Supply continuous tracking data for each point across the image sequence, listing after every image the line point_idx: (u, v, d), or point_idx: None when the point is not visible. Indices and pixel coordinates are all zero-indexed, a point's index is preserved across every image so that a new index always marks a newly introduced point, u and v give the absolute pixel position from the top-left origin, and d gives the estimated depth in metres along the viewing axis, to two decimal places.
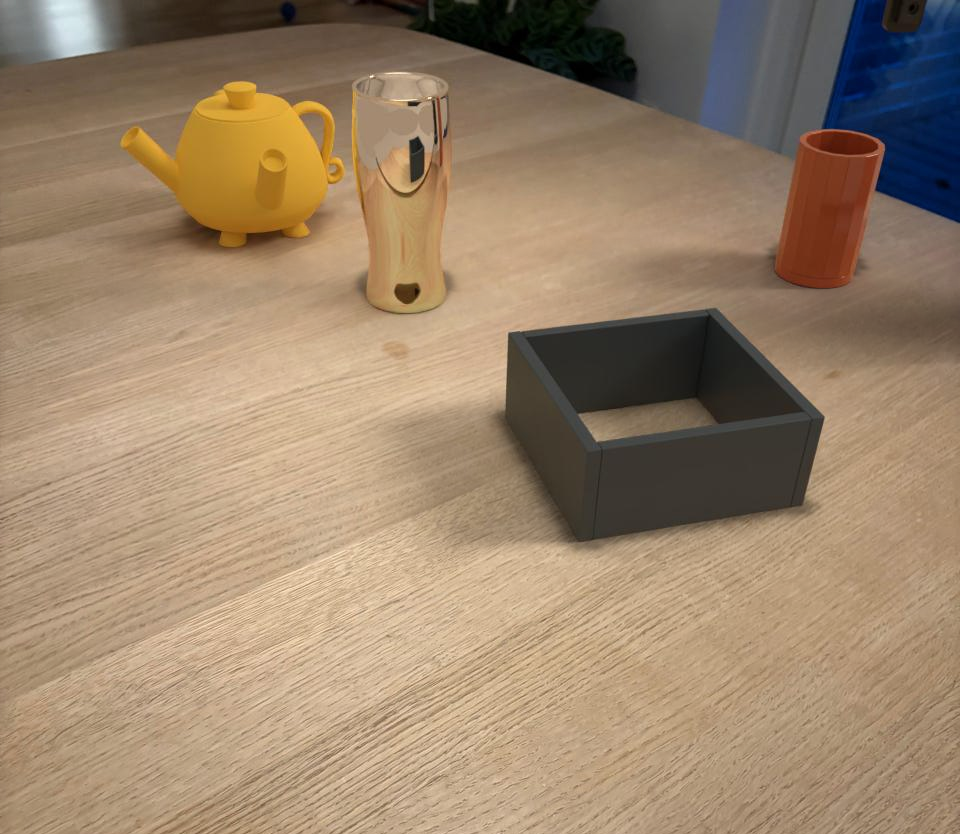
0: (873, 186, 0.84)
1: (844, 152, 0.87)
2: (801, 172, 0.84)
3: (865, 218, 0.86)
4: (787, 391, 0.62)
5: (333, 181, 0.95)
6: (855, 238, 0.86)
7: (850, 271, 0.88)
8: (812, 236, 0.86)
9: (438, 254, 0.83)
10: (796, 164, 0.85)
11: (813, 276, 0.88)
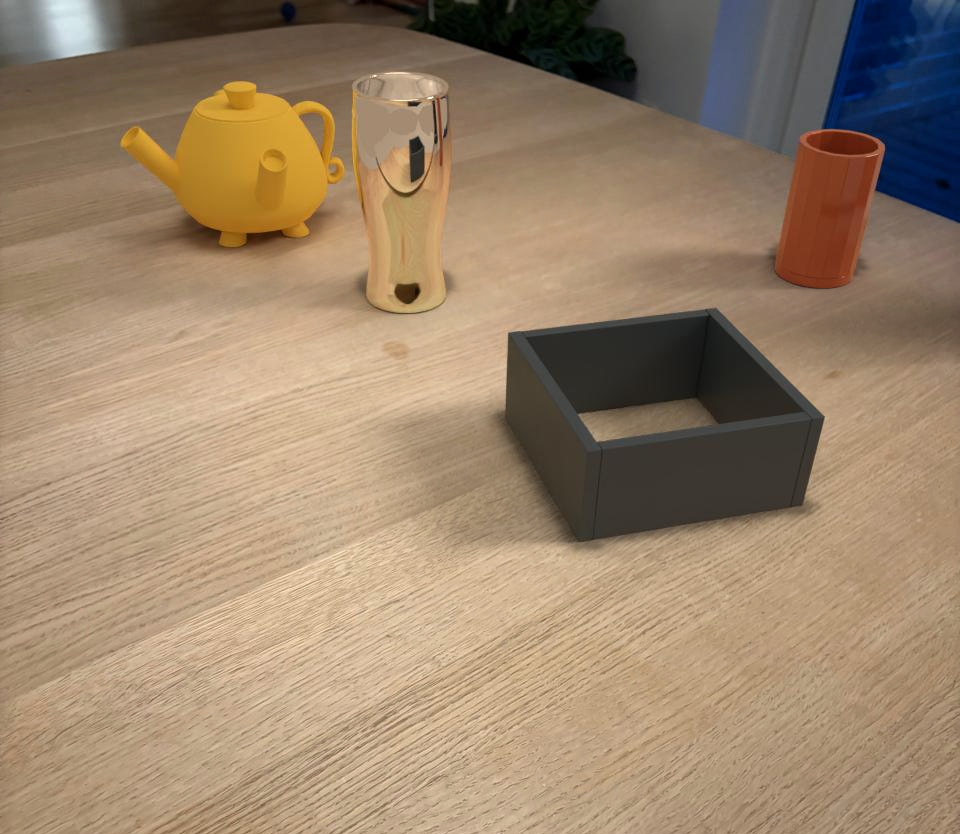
0: (873, 186, 0.84)
1: (844, 152, 0.87)
2: (801, 172, 0.84)
3: (865, 218, 0.86)
4: (787, 391, 0.62)
5: (333, 181, 0.95)
6: (855, 238, 0.86)
7: (850, 271, 0.88)
8: (812, 236, 0.86)
9: (438, 254, 0.83)
10: (796, 164, 0.85)
11: (813, 276, 0.88)
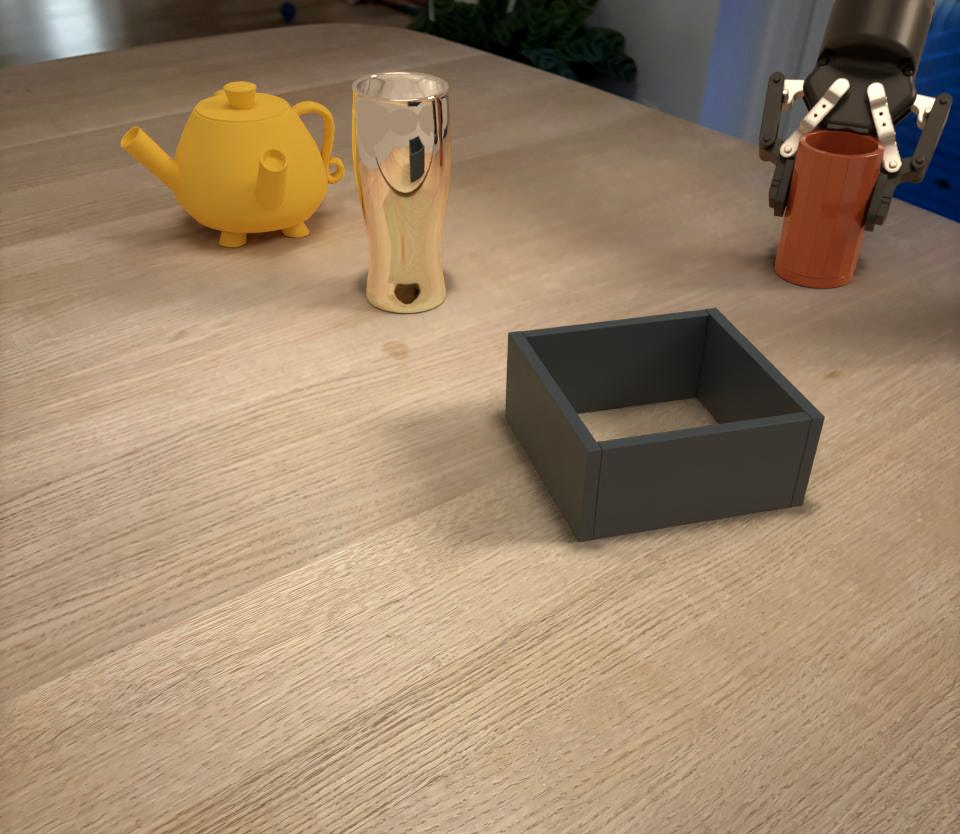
0: (873, 186, 0.84)
1: (844, 152, 0.87)
2: (801, 172, 0.84)
3: (865, 218, 0.86)
4: (787, 391, 0.62)
5: (333, 181, 0.95)
6: (854, 238, 0.86)
7: (850, 271, 0.88)
8: (812, 236, 0.86)
9: (438, 254, 0.83)
10: (796, 164, 0.85)
11: (813, 276, 0.88)
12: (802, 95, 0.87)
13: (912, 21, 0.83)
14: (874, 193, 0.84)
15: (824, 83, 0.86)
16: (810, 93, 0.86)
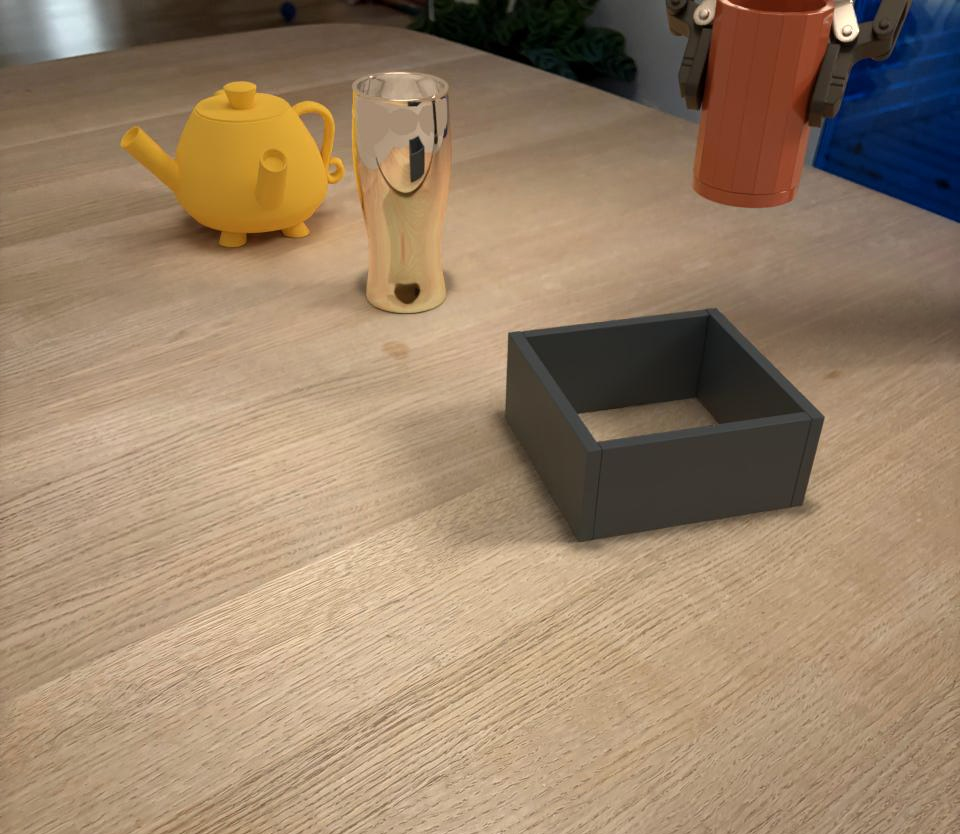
0: (819, 61, 0.60)
1: None
2: (719, 42, 0.61)
3: None
4: (787, 391, 0.62)
5: (333, 181, 0.95)
6: (796, 136, 0.62)
7: (792, 185, 0.65)
8: (736, 133, 0.62)
9: (438, 254, 0.83)
10: (713, 32, 0.61)
11: (740, 191, 0.64)
12: None
13: None
14: (821, 71, 0.61)
15: None
16: None
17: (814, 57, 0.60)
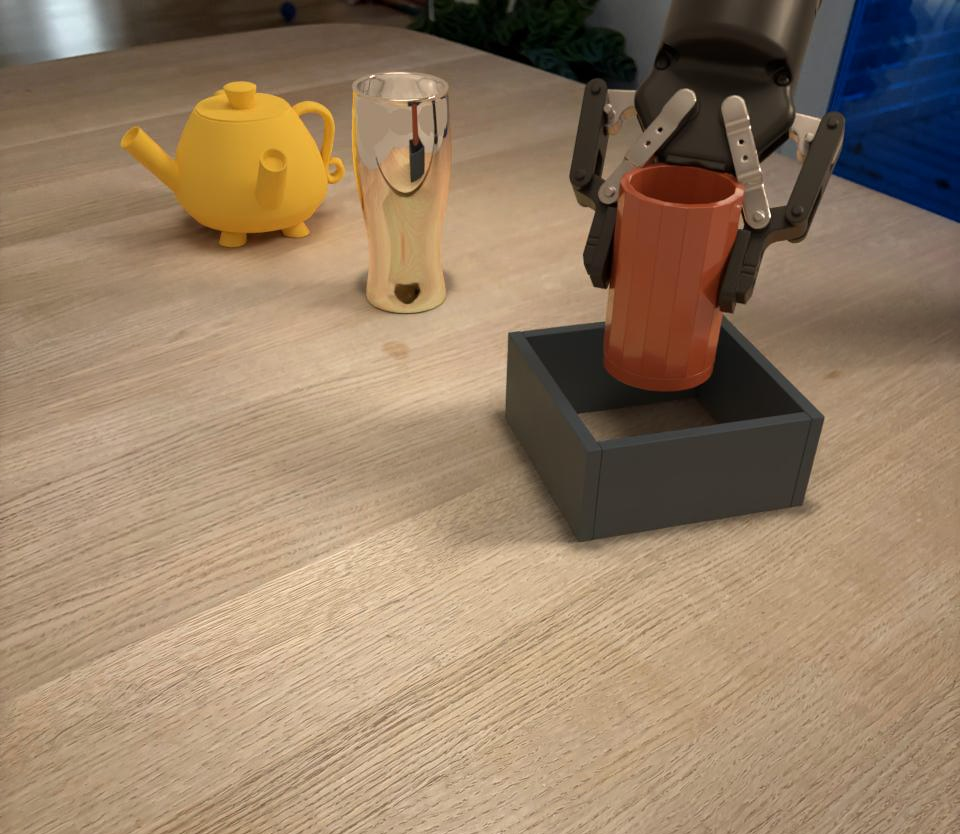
0: (729, 248, 0.57)
1: (693, 196, 0.59)
2: (623, 227, 0.57)
3: None
4: (787, 391, 0.62)
5: (333, 181, 0.95)
6: (707, 322, 0.59)
7: (705, 367, 0.61)
8: (644, 320, 0.59)
9: (438, 254, 0.83)
10: (617, 215, 0.57)
11: (650, 375, 0.60)
12: (635, 112, 0.60)
13: (786, 4, 0.56)
14: (731, 259, 0.57)
15: (663, 95, 0.59)
16: (643, 110, 0.59)
17: (723, 246, 0.56)
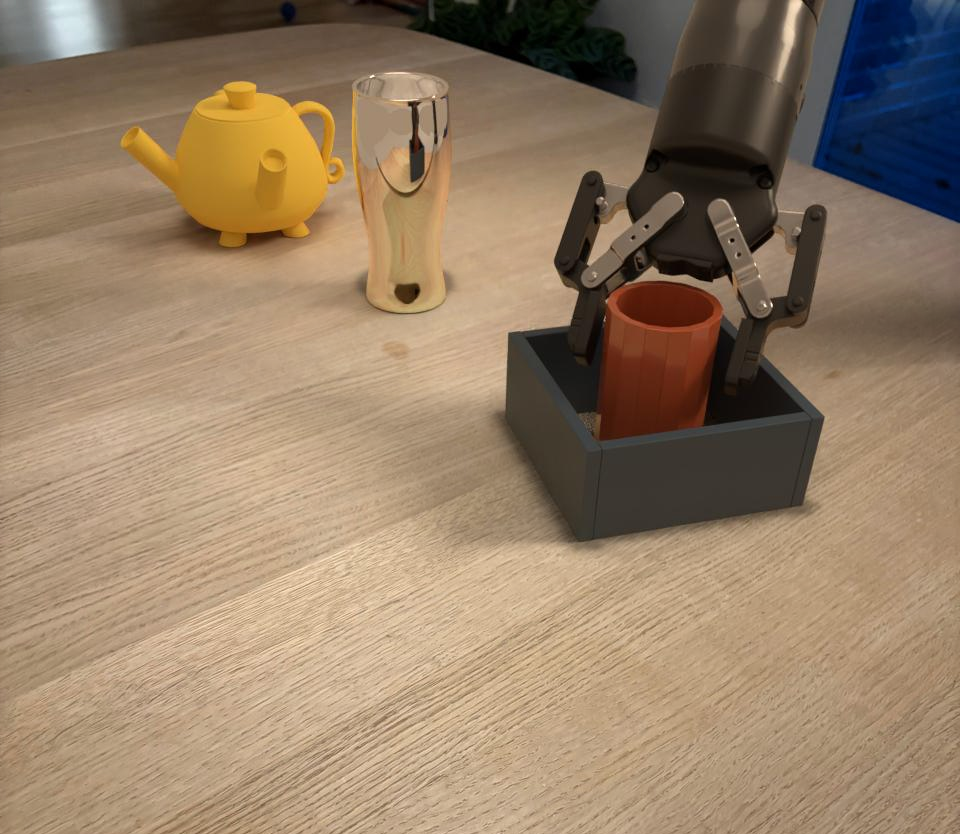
0: (709, 364, 0.61)
1: (676, 311, 0.64)
2: (610, 344, 0.61)
3: (702, 403, 0.63)
4: (787, 391, 0.62)
5: (333, 181, 0.95)
6: None
7: None
8: (630, 427, 0.63)
9: (438, 254, 0.83)
10: (605, 332, 0.62)
11: None
12: None
13: (767, 114, 0.59)
14: (735, 346, 0.60)
15: (652, 198, 0.62)
16: (634, 210, 0.62)
17: (702, 362, 0.61)
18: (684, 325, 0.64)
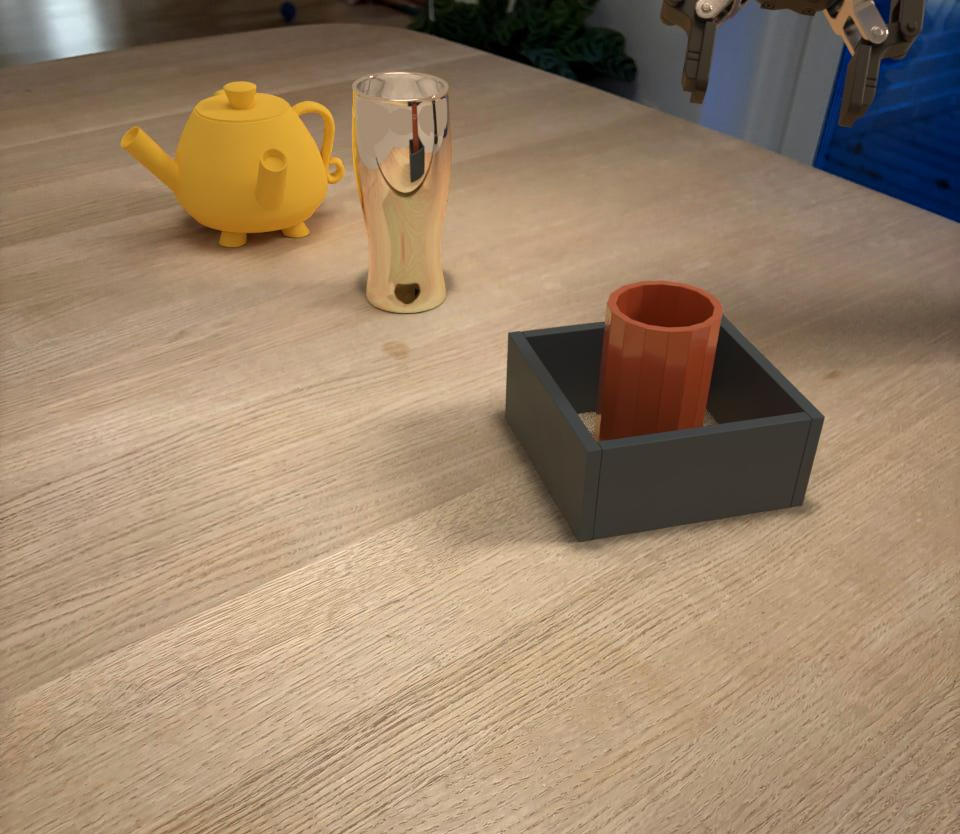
0: (709, 364, 0.61)
1: (676, 311, 0.64)
2: (610, 344, 0.61)
3: (702, 403, 0.63)
4: (787, 391, 0.62)
5: (333, 181, 0.95)
6: None
7: None
8: (630, 427, 0.63)
9: (438, 254, 0.83)
10: (605, 332, 0.62)
11: None
12: None
13: None
14: (856, 73, 0.62)
15: None
16: None
17: (702, 362, 0.61)
18: (684, 325, 0.64)
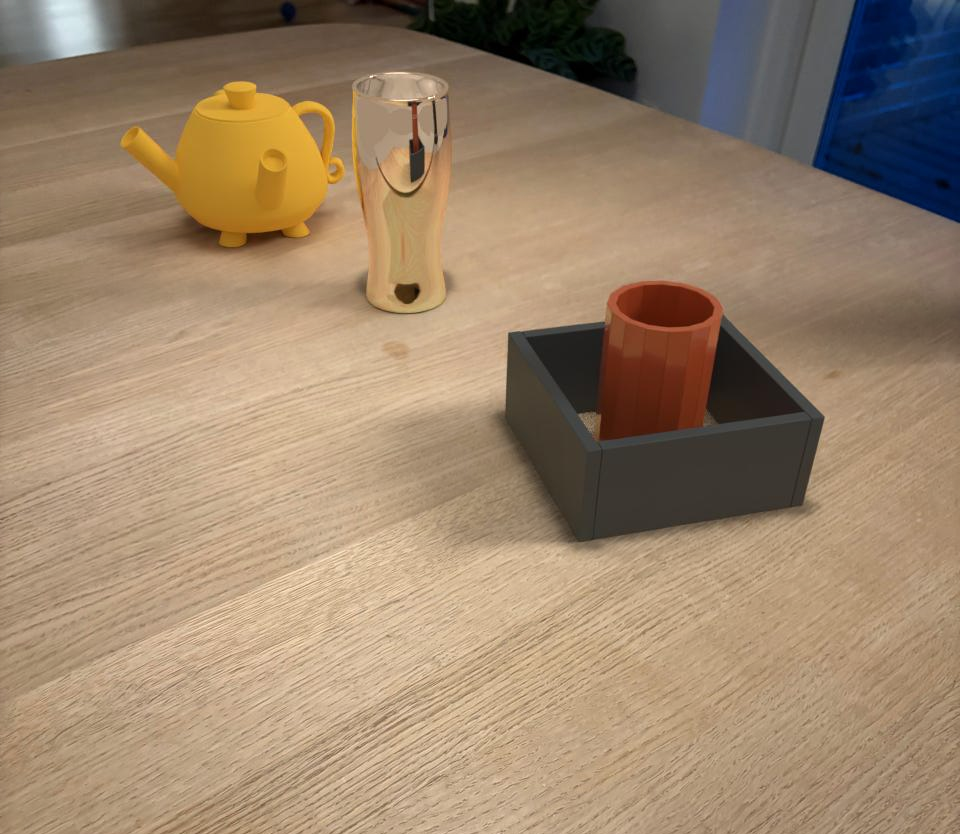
0: (709, 364, 0.61)
1: (676, 311, 0.64)
2: (610, 344, 0.61)
3: (702, 403, 0.63)
4: (787, 391, 0.62)
5: (333, 181, 0.95)
6: None
7: None
8: (630, 427, 0.63)
9: (438, 254, 0.83)
10: (605, 332, 0.62)
11: None
12: None
13: None
14: None
15: None
16: None
17: (702, 362, 0.61)
18: (684, 325, 0.64)
